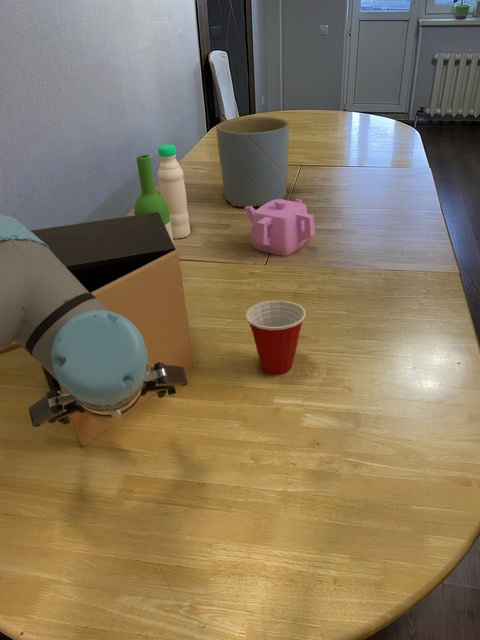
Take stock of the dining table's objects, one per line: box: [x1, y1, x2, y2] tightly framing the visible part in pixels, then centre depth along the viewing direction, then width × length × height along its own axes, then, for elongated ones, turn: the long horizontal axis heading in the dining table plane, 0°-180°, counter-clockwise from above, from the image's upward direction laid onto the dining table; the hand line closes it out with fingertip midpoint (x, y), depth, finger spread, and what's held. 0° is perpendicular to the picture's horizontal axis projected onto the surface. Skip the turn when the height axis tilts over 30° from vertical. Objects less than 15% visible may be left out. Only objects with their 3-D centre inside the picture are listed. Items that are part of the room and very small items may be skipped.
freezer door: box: [60, 250, 195, 448], centre depth 82 cm, size 8×26×24 cm, turn 143°
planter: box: [215, 116, 290, 208], centre depth 168 cm, size 23×23×24 cm
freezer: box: [30, 212, 177, 392], centre depth 97 cm, size 18×26×24 cm
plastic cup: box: [245, 299, 307, 376], centre depth 95 cm, size 11×11×12 cm
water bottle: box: [157, 143, 191, 240], centre depth 144 cm, size 7×7×25 cm
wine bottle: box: [134, 154, 175, 245], centre depth 119 cm, size 8×8×30 cm
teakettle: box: [244, 198, 316, 257], centre depth 140 cm, size 17×17×12 cm
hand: (113, 401), depth 76 cm, fingers open, 13 cm apart
